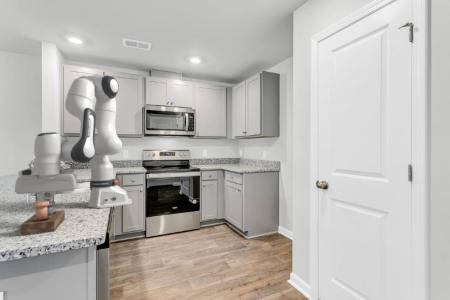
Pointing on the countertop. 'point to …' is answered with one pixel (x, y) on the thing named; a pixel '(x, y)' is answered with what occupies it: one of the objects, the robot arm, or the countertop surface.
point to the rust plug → (41, 210)
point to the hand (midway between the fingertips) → (47, 202)
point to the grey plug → (50, 208)
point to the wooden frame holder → (43, 224)
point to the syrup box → (39, 199)
